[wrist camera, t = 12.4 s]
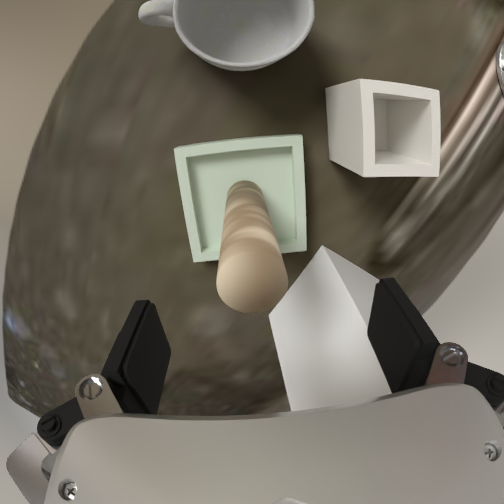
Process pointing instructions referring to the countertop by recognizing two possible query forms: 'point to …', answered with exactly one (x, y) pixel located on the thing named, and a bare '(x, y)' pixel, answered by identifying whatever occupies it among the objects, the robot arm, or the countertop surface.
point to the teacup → (235, 28)
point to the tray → (237, 169)
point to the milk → (327, 335)
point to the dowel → (249, 253)
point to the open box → (384, 128)
